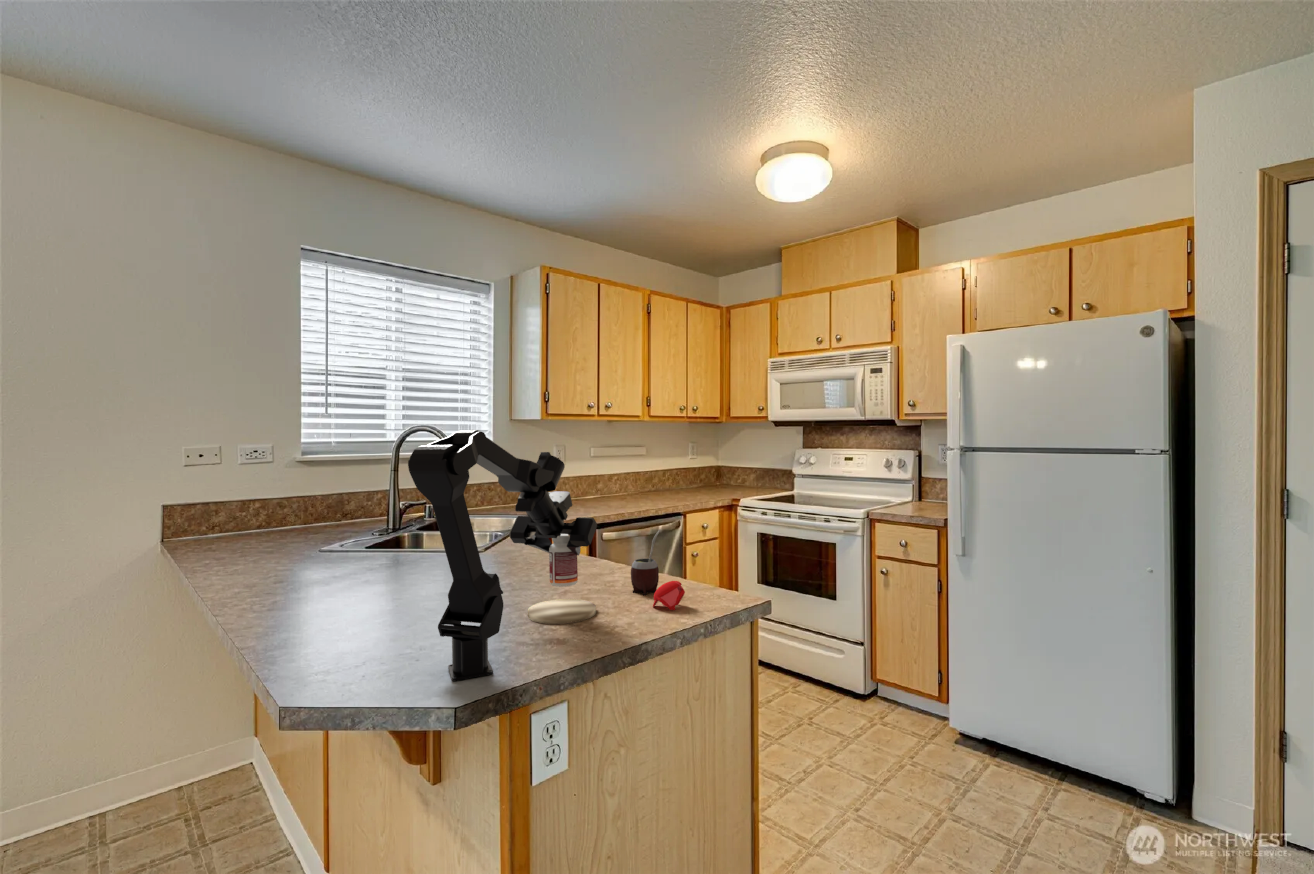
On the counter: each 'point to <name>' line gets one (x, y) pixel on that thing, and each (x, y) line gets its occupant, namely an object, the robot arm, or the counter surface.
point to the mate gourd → (645, 574)
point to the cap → (669, 594)
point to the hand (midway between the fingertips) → (565, 552)
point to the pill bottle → (562, 563)
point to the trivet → (561, 611)
